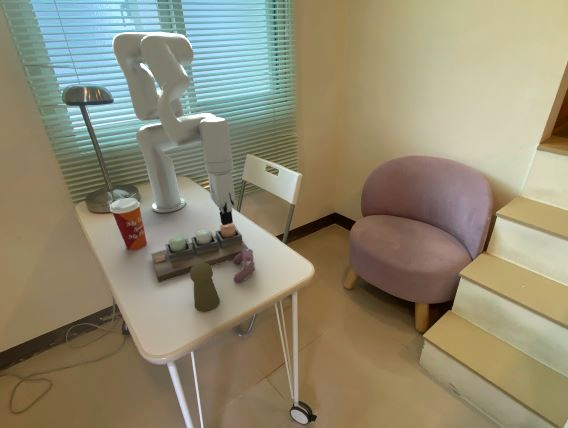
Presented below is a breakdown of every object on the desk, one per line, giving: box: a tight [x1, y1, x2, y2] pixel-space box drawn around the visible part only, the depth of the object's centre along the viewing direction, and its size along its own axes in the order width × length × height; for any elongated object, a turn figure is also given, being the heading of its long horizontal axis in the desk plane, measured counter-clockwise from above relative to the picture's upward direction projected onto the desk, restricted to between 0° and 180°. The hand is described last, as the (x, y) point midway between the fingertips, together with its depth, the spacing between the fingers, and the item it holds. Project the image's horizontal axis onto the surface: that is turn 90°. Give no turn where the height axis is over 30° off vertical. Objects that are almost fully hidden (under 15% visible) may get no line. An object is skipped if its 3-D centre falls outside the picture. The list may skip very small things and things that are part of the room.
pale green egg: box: [168, 235, 187, 253], centre depth 90 cm, size 4×4×3 cm
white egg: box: [194, 228, 212, 245], centre depth 93 cm, size 4×4×3 cm
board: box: [150, 226, 249, 284], centre depth 93 cm, size 12×26×4 cm, turn 117°
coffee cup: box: [109, 197, 148, 251], centre depth 97 cm, size 8×8×15 cm
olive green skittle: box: [189, 263, 221, 313], centre depth 74 cm, size 6×6×11 cm
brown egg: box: [219, 222, 236, 238], centre depth 96 cm, size 4×4×3 cm
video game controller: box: [232, 248, 256, 284], centre depth 86 cm, size 10×5×7 cm, turn 10°
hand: (227, 223), depth 95 cm, fingers closed
